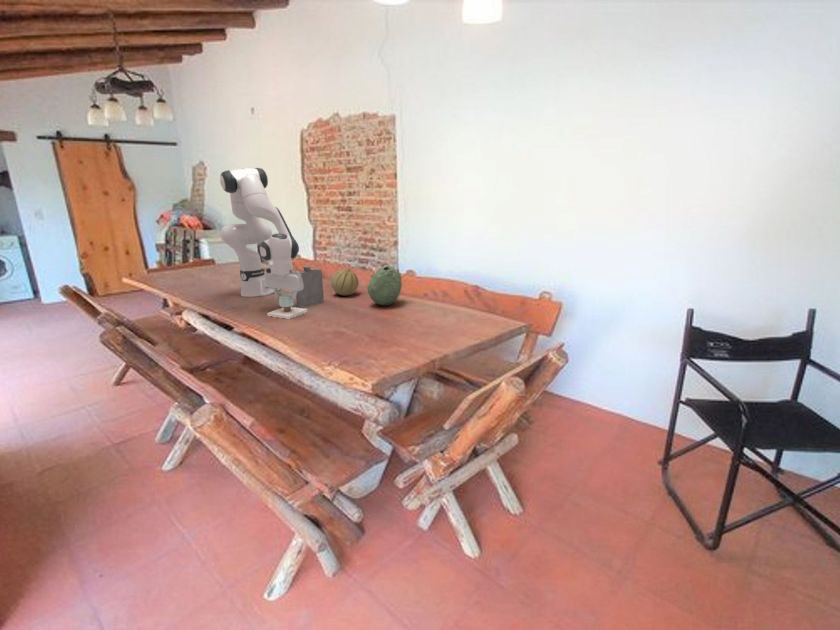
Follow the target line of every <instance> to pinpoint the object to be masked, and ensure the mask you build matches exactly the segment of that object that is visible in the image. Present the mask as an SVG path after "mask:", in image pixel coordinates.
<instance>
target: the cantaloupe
mask: <svg viewBox="0 0 840 630" xmlns="http://www.w3.org/2000/svg"><path fill="white" fill-rule="evenodd" d="M330 283H331V288H332V289H333V291H334V292H335V293H336V294H337V295H340V296H344V297H345V296H346V297H347V296H351V295H353V294H354V293H355V292H356V291H357V290H358V287H359V278H358V276H357V274H356V273H355V272H354V271H352V270H351V268H347V269H346V268H341V269H339V270H337V271H336V272H335V273H334V274H333V275H332V277H331V282H330Z"/></svg>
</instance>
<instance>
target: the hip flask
mask: <svg viewBox="0 0 840 630" xmlns="http://www.w3.org/2000/svg"><path fill="white" fill-rule="evenodd" d="M302 268H303V270H301V271H299V272H300V274H301V276H302V280H303V285H304V288H303V290H301V291H298V292H297V295H296V299H295V300H296V308H303V309H304V308H306V307H309V306H313V305H316V304H323V303H324V302H325V297H324V285H323V284H324V283H323V274H322V272H323V270H322V268H311V265H304V266H303V267H302Z"/></svg>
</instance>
